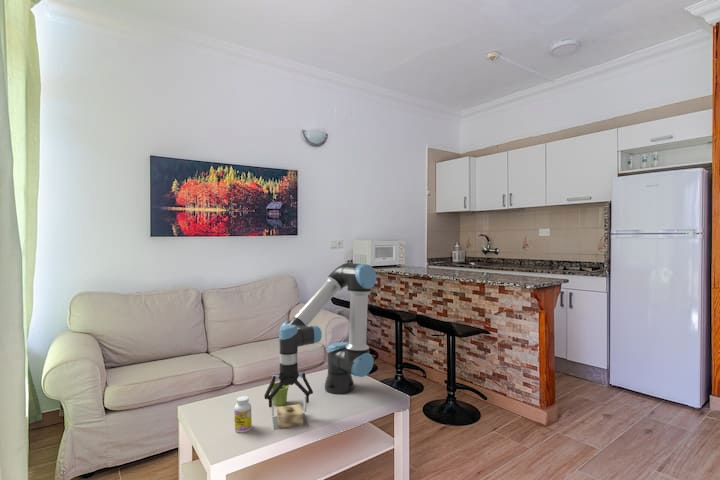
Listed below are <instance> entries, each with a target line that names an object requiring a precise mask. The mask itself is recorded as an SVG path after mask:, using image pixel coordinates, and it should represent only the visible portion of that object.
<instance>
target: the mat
mask: <svg viewBox="0 0 720 480" xmlns="http://www.w3.org/2000/svg"><path fill="white" fill-rule="evenodd" d="M271 417H272V424H273V425H272V426H273V431H276V430H277V431H278V430H284V429H290V428H297V427H304V426H309V423H308V419H307V416H306V412H303V425H297V426H290V427H283V428H279V427H278V420H277V415H276V416H271Z"/></svg>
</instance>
